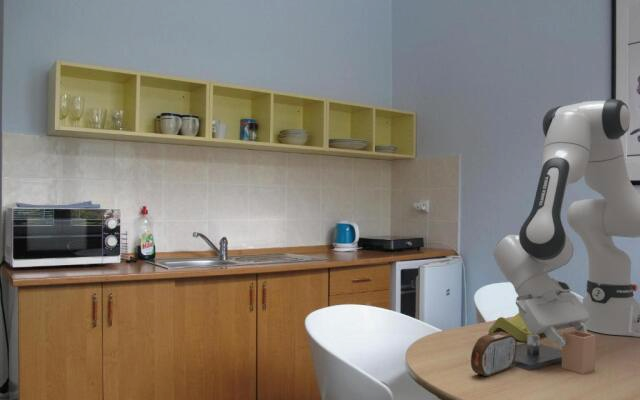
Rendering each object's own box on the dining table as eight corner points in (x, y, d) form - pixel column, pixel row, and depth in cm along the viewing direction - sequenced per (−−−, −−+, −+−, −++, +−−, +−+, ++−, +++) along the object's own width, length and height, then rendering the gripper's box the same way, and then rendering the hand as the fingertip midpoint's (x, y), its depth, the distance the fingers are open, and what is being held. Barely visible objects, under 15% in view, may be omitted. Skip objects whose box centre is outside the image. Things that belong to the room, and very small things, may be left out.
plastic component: (528, 335, 145) (496, 313, 151) (516, 357, 148) (485, 334, 154) (557, 319, 159) (527, 299, 165) (546, 339, 162) (516, 319, 168)
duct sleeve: (574, 364, 128) (575, 330, 128) (594, 370, 124) (596, 335, 124) (561, 367, 126) (562, 332, 126) (582, 374, 121) (583, 338, 121)
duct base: (531, 346, 143) (532, 326, 143) (574, 358, 133) (575, 337, 133) (485, 356, 133) (486, 334, 133) (529, 370, 123) (529, 347, 123)
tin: (505, 364, 127) (507, 328, 127) (518, 367, 125) (519, 330, 125) (468, 377, 117) (470, 338, 117) (481, 381, 115) (483, 341, 115)
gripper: (521, 289, 126) (558, 342, 118) (572, 283, 137) (609, 331, 129) (504, 305, 129) (539, 357, 121) (555, 298, 141) (590, 345, 133)
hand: (576, 343), depth 125 cm, fingers open, 8 cm apart
